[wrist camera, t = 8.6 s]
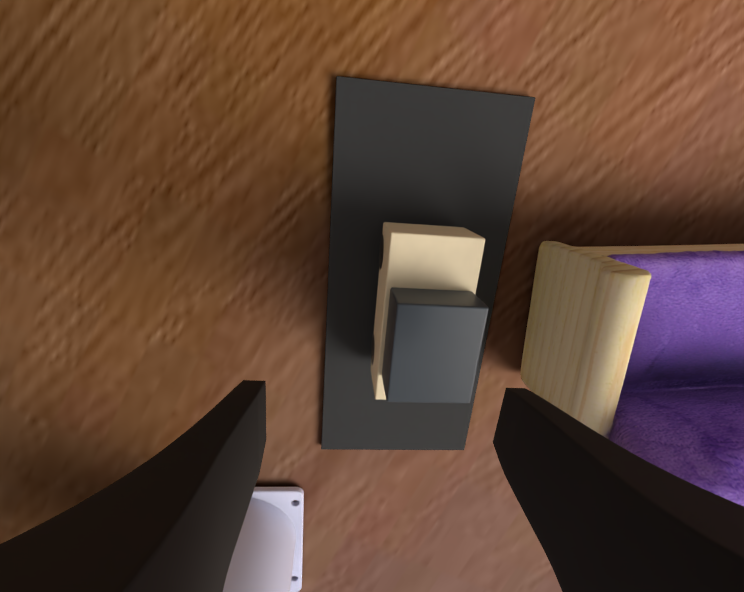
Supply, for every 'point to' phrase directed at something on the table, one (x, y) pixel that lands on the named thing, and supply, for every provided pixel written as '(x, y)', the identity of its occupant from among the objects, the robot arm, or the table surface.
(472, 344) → the toy car
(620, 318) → the toy sofa
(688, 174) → the table surface
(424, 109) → the mat
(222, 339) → the table surface
